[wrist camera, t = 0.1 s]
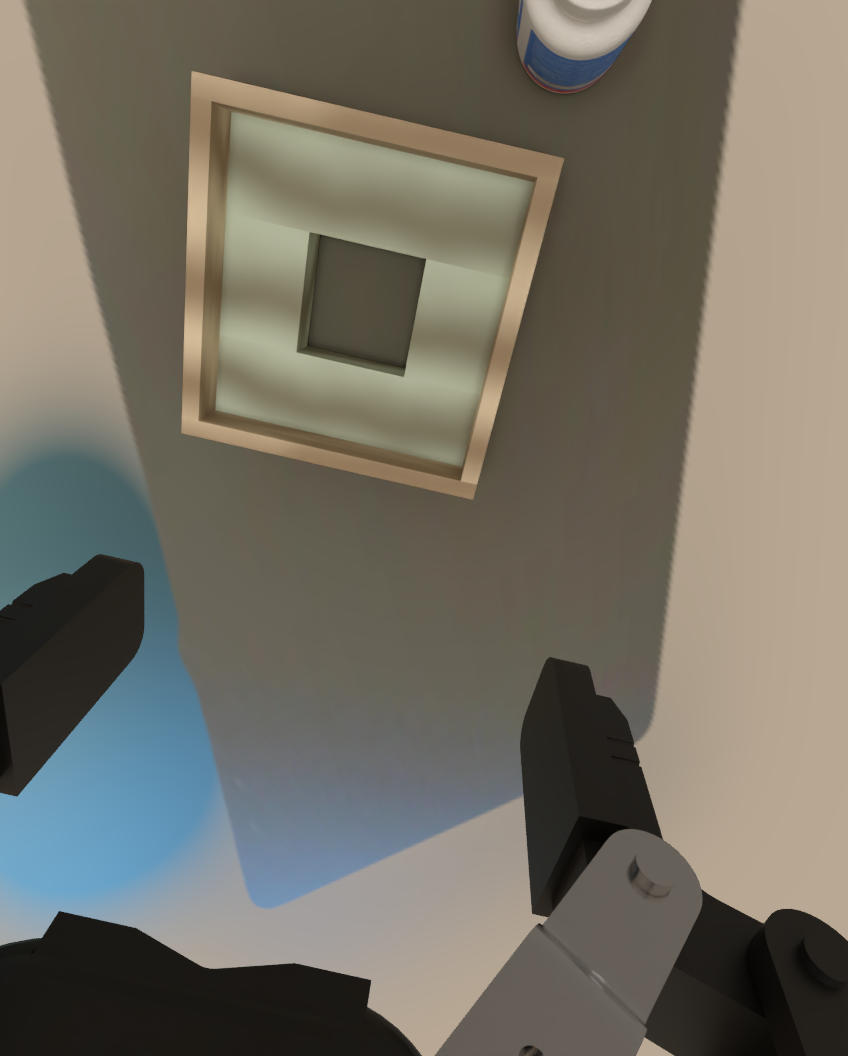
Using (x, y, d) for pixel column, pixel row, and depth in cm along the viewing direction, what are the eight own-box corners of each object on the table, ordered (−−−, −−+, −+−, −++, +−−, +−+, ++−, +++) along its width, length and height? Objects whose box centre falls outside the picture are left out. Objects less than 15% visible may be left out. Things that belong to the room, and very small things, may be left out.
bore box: (231, 94, 33) (191, 71, 28) (553, 169, 33) (564, 158, 28) (214, 411, 41) (181, 433, 36) (474, 471, 41) (473, 499, 36)
